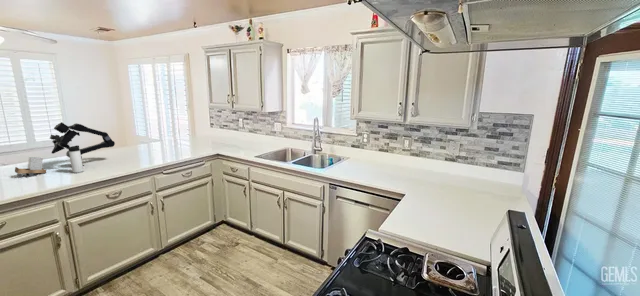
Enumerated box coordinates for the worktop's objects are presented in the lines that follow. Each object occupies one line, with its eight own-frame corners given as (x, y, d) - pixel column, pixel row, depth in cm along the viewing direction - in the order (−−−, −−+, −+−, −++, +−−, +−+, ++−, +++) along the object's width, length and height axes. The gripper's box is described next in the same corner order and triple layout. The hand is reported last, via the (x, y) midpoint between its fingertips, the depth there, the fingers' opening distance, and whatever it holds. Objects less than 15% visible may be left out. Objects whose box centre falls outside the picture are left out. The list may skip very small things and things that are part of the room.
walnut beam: (42, 171, 211) (43, 166, 210) (45, 173, 206) (46, 168, 206) (14, 172, 198) (15, 167, 198) (17, 174, 194) (18, 168, 194)
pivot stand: (42, 171, 212) (41, 168, 211) (47, 173, 206) (46, 170, 205) (16, 175, 200) (15, 172, 200) (20, 178, 194) (19, 175, 194)
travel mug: (86, 171, 213) (81, 145, 209) (78, 173, 207) (73, 147, 203) (78, 170, 214) (74, 145, 210) (70, 173, 207) (65, 147, 203)
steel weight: (39, 169, 208) (40, 157, 208) (41, 170, 205) (42, 158, 205) (27, 169, 203) (28, 157, 203) (30, 170, 200) (31, 158, 199)
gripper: (53, 129, 217) (36, 145, 210) (61, 131, 207) (44, 148, 200) (67, 138, 225) (52, 153, 218) (76, 140, 215) (60, 157, 208)
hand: (52, 153), depth 211 cm, fingers closed
